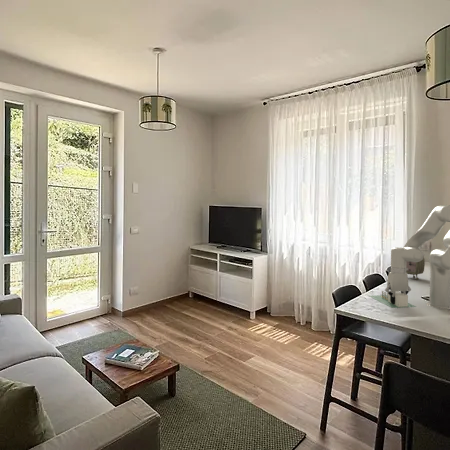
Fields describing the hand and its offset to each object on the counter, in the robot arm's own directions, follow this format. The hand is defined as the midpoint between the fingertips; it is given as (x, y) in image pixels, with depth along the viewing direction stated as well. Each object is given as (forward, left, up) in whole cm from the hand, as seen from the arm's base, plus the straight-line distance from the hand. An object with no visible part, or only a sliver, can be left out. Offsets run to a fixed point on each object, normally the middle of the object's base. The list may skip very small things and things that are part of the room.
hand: (397, 302), depth 189 cm
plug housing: (0, 0, -1) cm, 1 cm away
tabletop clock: (-53, -63, -2) cm, 82 cm away
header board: (0, -6, -2) cm, 6 cm away
